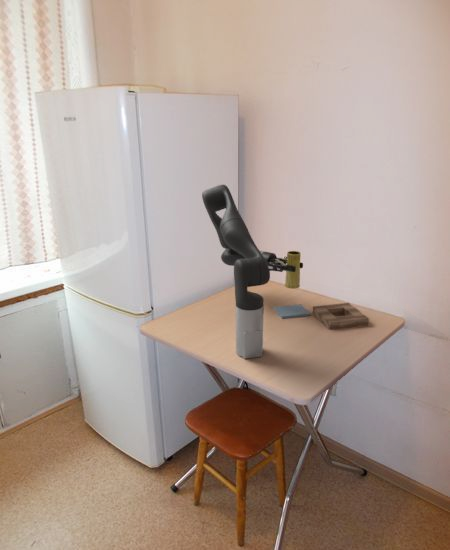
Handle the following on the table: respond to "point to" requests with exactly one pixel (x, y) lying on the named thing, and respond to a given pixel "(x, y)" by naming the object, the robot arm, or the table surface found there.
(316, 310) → the socket stand
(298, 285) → the vase
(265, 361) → the table surface
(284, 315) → the slate mat
